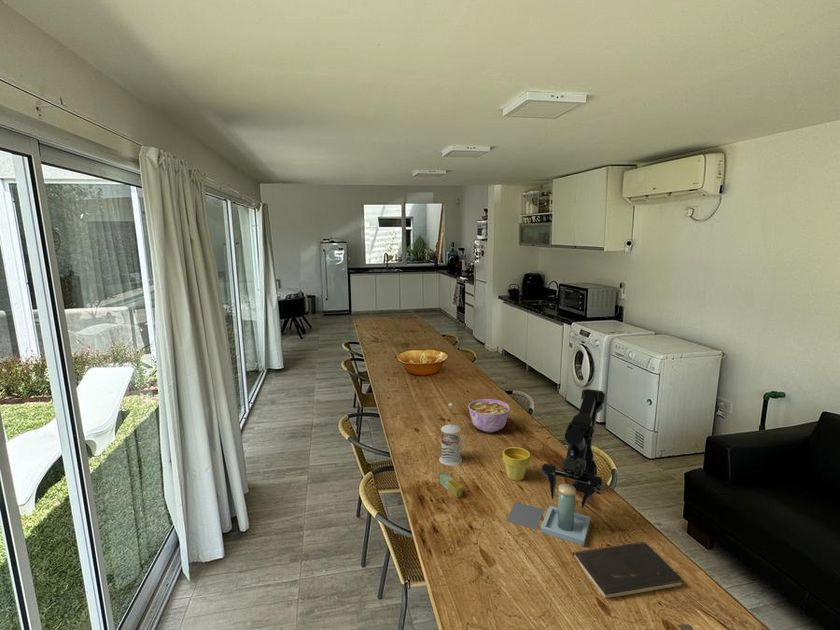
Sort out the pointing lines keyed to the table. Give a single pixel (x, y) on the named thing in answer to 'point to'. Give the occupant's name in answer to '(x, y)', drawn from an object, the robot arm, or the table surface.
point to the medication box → (451, 485)
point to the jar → (566, 507)
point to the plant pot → (516, 462)
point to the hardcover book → (626, 569)
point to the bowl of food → (489, 414)
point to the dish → (553, 530)
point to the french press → (453, 456)
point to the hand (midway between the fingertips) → (566, 503)
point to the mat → (525, 515)
